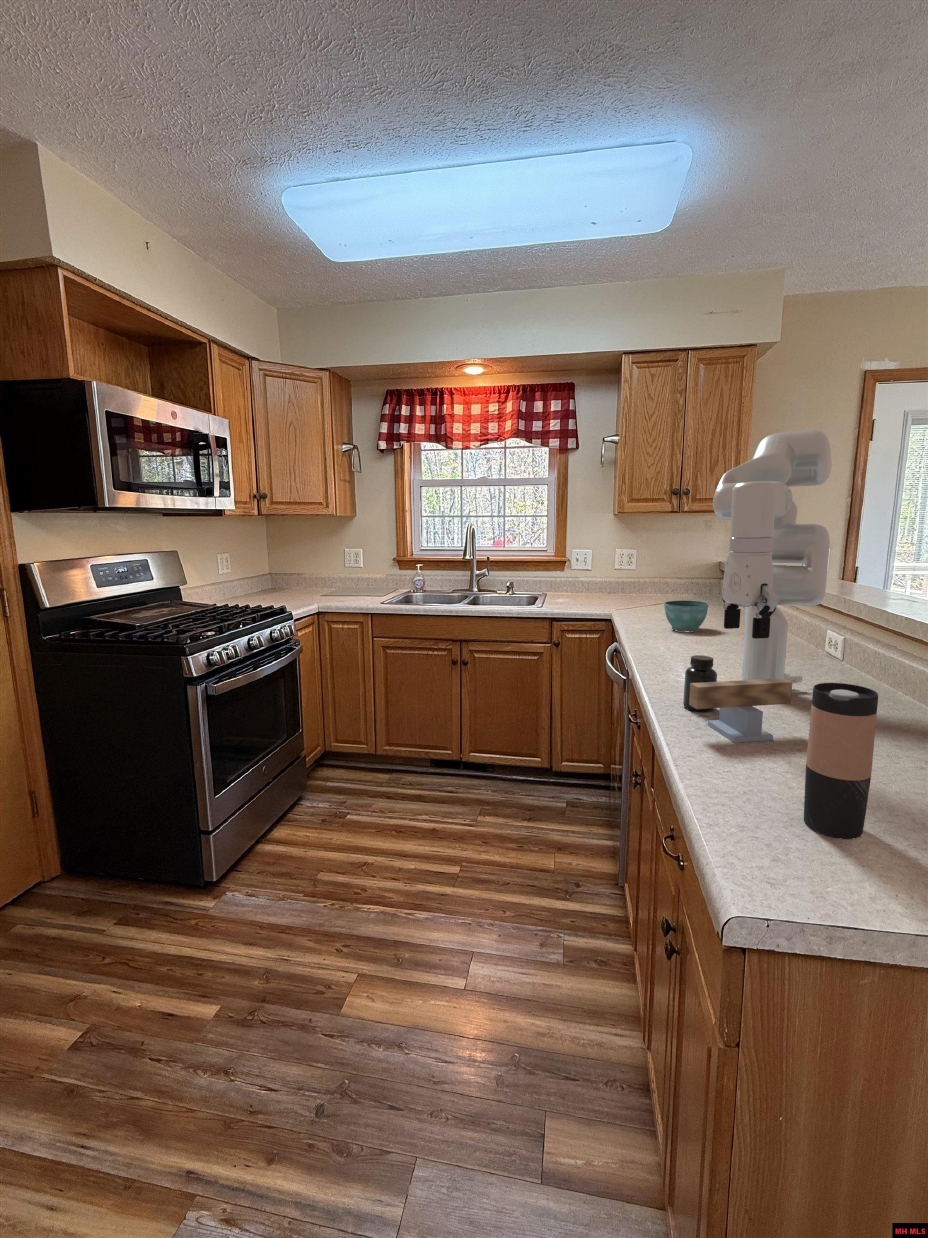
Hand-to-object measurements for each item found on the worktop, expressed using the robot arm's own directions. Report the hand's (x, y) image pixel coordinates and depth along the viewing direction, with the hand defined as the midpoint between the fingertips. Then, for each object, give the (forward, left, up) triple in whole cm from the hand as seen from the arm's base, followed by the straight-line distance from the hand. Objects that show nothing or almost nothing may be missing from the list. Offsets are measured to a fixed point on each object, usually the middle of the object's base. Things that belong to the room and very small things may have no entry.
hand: (745, 632), depth 115 cm
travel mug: (+8, +37, -21) cm, 43 cm away
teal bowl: (-42, -104, -21) cm, 114 cm away
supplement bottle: (0, -15, -21) cm, 26 cm away
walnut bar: (+1, +1, -15) cm, 15 cm away
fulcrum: (0, +1, -21) cm, 21 cm away
